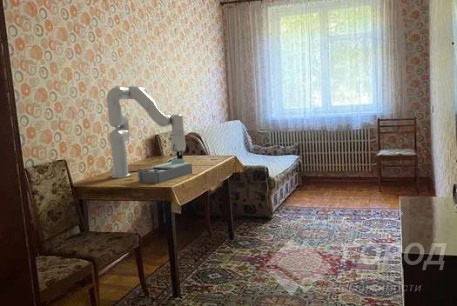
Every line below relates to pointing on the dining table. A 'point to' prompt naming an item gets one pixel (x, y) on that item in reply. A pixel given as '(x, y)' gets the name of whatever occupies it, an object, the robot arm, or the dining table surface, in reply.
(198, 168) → the dining table surface
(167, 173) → the housing
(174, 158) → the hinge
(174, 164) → the lid
